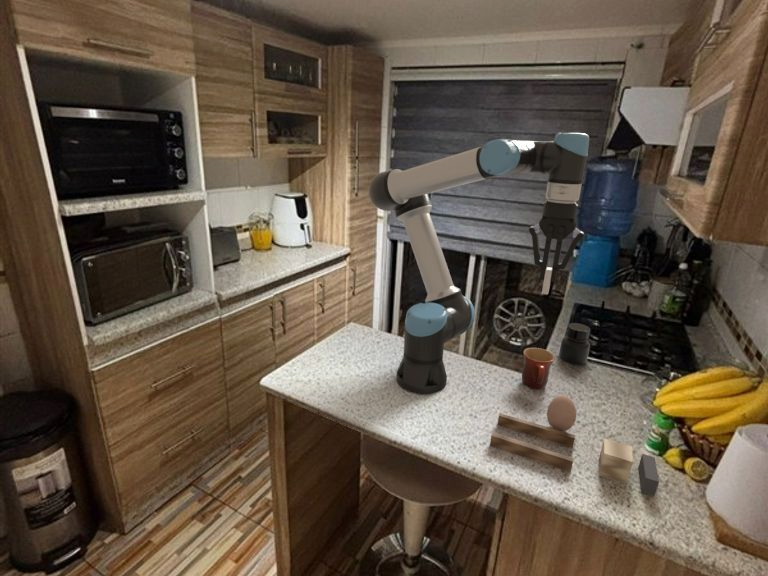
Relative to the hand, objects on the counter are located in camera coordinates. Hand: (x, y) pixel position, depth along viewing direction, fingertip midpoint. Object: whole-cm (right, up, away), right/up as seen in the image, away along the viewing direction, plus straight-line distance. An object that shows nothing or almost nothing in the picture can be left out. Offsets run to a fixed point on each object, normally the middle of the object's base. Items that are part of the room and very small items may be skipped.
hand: (545, 292), depth 109 cm
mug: (+3, -29, +17) cm, 33 cm away
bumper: (+15, -41, -17) cm, 47 cm away
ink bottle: (+23, -23, +34) cm, 47 cm away
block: (+9, -40, -15) cm, 44 cm away
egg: (+3, -35, -1) cm, 35 cm away
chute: (-6, -37, -8) cm, 38 cm away
